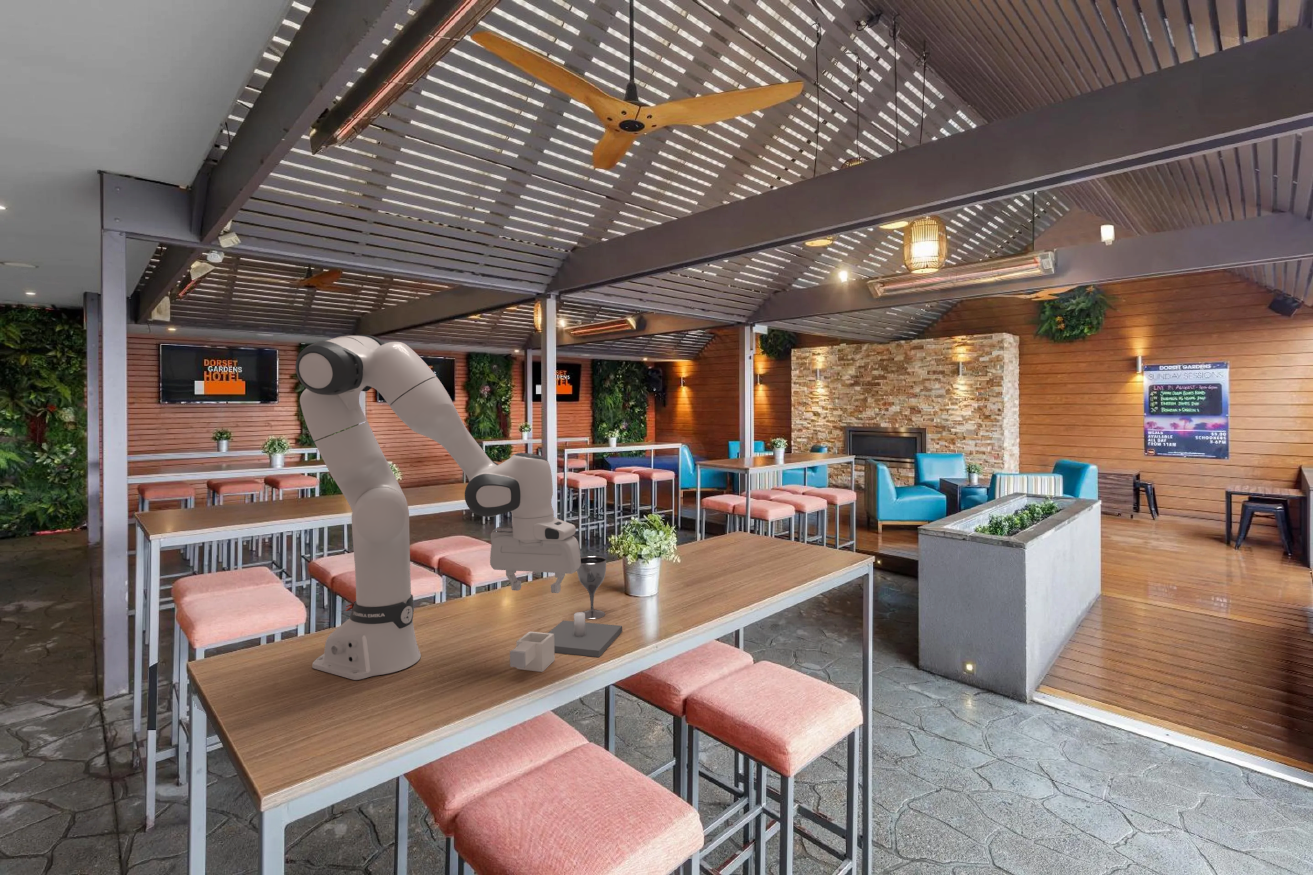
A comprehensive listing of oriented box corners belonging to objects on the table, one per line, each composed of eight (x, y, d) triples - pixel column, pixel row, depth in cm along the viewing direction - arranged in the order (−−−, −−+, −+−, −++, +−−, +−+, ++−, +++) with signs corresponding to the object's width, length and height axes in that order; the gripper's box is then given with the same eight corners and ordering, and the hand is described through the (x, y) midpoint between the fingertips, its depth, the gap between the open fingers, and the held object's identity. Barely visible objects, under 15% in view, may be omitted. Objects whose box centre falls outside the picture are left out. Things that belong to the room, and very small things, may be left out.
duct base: (534, 650, 140) (533, 622, 139) (563, 626, 155) (562, 601, 155) (599, 657, 135) (598, 628, 135) (622, 631, 151) (621, 605, 150)
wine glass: (602, 620, 159) (601, 564, 158) (573, 618, 160) (572, 562, 160) (610, 610, 167) (609, 556, 166) (582, 608, 168) (581, 555, 167)
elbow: (530, 657, 135) (529, 630, 135) (554, 660, 134) (554, 633, 134) (504, 679, 125) (503, 650, 124) (530, 682, 123) (530, 653, 123)
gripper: (482, 529, 130) (485, 592, 131) (570, 532, 125) (573, 598, 125) (498, 523, 136) (500, 584, 137) (582, 526, 131) (584, 589, 131)
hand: (536, 590), depth 131 cm, fingers open, 8 cm apart
